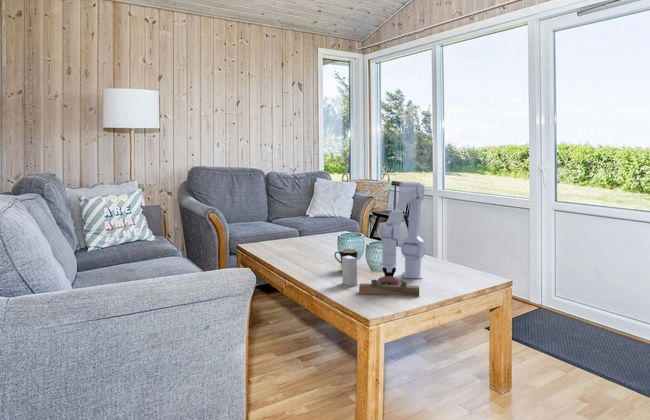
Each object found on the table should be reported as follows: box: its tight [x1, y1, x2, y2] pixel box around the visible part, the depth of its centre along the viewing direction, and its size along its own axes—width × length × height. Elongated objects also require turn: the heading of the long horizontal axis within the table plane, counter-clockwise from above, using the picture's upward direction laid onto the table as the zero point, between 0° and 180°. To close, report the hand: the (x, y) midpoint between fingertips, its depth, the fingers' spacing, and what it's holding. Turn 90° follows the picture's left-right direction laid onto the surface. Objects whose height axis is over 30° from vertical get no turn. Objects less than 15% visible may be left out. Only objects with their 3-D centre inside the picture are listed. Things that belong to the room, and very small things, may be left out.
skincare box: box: [341, 256, 358, 287], centre depth 197 cm, size 6×4×12 cm
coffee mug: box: [334, 248, 359, 265], centre depth 221 cm, size 12×9×10 cm
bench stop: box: [358, 279, 420, 297], centre depth 184 cm, size 3×24×6 cm, turn 82°
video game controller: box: [376, 275, 401, 285], centre depth 189 cm, size 10×5×7 cm, turn 82°
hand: (388, 284), depth 193 cm, fingers closed
